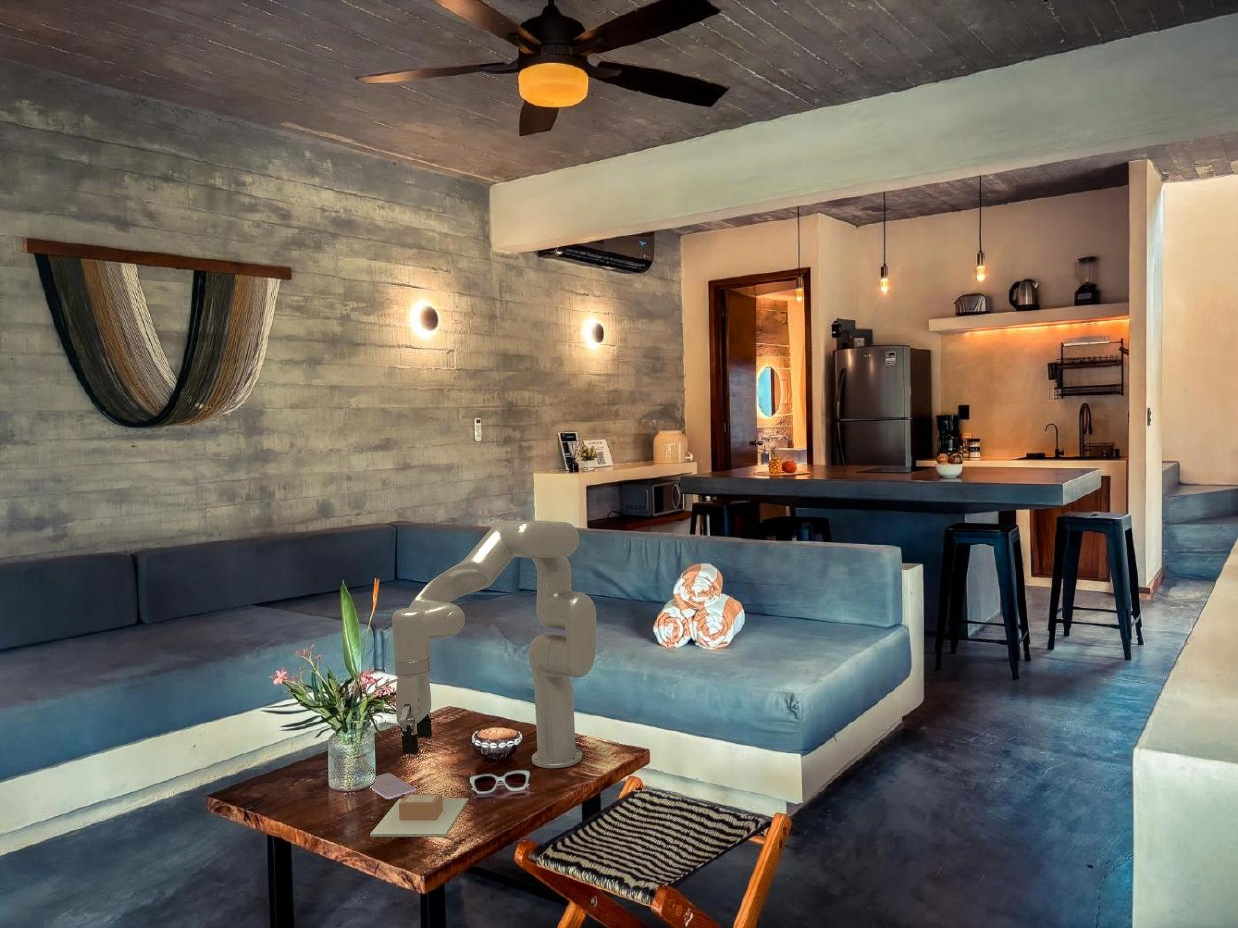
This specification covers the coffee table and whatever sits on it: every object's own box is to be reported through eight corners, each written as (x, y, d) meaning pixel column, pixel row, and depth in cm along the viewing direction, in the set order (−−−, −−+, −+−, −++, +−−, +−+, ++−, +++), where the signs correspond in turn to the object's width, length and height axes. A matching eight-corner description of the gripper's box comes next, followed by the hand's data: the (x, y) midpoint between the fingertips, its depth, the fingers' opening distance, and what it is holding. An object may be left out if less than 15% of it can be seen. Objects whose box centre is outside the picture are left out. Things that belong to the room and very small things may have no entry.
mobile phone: (387, 797, 210) (360, 779, 222) (387, 801, 210) (360, 783, 222) (417, 787, 215) (389, 771, 227) (418, 791, 215) (389, 775, 227)
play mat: (399, 801, 209) (399, 798, 209) (468, 800, 207) (468, 798, 207) (370, 836, 191) (370, 833, 191) (445, 836, 189) (445, 833, 189)
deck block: (443, 810, 201) (442, 793, 201) (435, 820, 196) (434, 803, 196) (407, 810, 202) (406, 793, 202) (399, 819, 197) (398, 802, 197)
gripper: (408, 656, 207) (413, 731, 208) (381, 678, 190) (387, 760, 190) (441, 655, 206) (446, 731, 207) (417, 677, 189) (422, 759, 190)
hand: (417, 744), depth 199 cm, fingers open, 9 cm apart
